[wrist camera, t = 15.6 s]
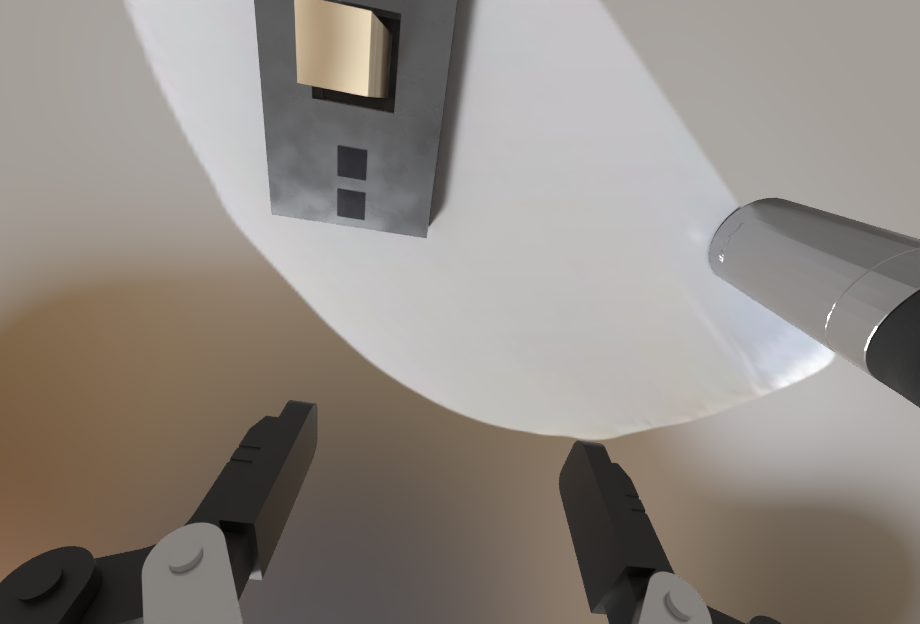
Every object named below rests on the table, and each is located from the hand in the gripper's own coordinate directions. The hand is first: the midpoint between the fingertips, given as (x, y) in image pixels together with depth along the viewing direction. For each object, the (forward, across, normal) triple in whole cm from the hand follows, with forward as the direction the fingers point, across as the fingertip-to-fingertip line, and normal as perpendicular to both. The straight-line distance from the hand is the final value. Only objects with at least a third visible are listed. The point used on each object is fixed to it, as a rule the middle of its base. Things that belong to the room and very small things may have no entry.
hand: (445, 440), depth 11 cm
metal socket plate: (+28, +10, -8) cm, 31 cm away
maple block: (+28, +10, -11) cm, 32 cm away
